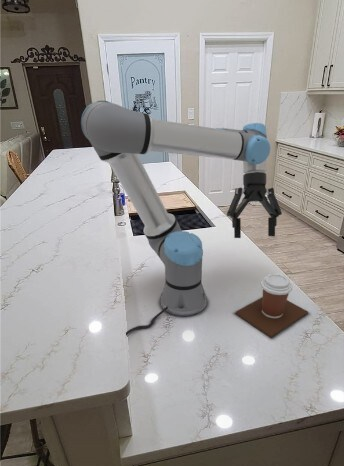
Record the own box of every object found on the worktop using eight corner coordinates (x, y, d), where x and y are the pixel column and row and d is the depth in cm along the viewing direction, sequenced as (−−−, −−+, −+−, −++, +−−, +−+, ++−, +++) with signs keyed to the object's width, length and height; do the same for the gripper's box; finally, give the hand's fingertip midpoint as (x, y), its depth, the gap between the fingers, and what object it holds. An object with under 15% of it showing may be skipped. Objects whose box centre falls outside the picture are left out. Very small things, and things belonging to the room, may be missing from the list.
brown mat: (271, 338, 94) (271, 336, 93) (235, 313, 104) (235, 311, 103) (307, 313, 103) (308, 311, 103) (271, 293, 113) (272, 291, 113)
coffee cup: (293, 317, 101) (300, 284, 95) (268, 323, 98) (273, 290, 92) (276, 300, 108) (281, 269, 102) (251, 306, 106) (255, 274, 100)
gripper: (278, 175, 117) (278, 235, 119) (215, 174, 108) (216, 238, 110) (292, 172, 110) (292, 235, 112) (227, 170, 101) (228, 239, 103)
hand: (254, 237), depth 111 cm, fingers open, 13 cm apart
